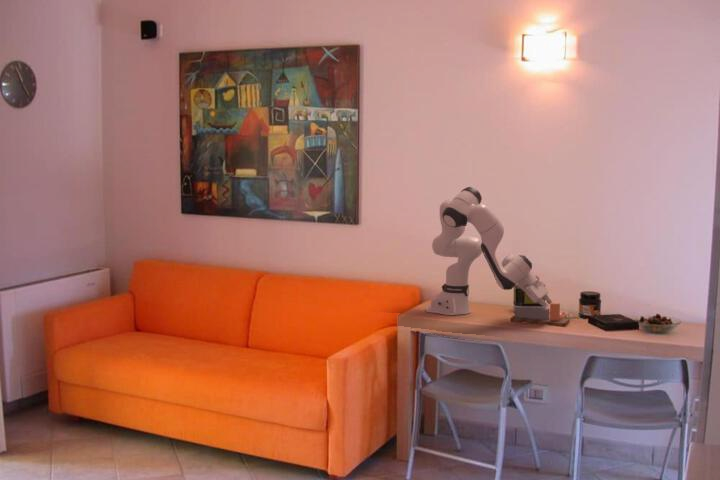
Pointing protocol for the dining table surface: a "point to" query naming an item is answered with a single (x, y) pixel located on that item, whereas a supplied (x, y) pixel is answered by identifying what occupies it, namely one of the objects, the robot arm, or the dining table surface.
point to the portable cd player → (613, 322)
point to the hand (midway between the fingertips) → (548, 305)
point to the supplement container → (589, 304)
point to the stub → (554, 311)
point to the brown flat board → (541, 321)
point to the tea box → (524, 298)
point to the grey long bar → (532, 312)
